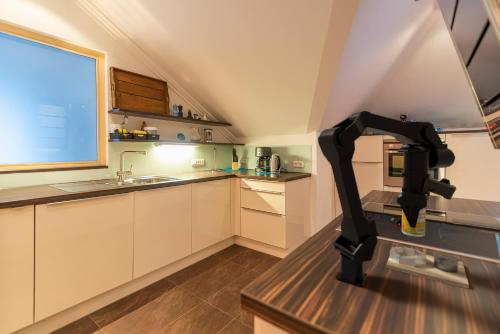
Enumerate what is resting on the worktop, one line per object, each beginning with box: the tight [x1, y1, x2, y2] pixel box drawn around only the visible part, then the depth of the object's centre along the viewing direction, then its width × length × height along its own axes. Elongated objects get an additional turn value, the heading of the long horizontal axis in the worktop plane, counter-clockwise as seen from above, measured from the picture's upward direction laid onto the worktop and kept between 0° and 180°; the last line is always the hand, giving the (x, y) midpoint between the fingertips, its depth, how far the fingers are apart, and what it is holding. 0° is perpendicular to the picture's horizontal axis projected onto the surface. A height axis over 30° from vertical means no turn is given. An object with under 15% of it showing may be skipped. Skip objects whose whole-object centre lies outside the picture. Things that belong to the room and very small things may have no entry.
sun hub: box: [433, 252, 459, 273], centre depth 63 cm, size 5×5×3 cm
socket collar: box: [389, 246, 427, 267], centre depth 69 cm, size 9×9×2 cm
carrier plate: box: [385, 254, 470, 290], centre depth 66 cm, size 14×17×1 cm
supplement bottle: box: [401, 208, 427, 238], centre depth 65 cm, size 5×5×10 cm
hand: (413, 224), depth 65 cm, fingers closed on supplement bottle, 5 cm apart
